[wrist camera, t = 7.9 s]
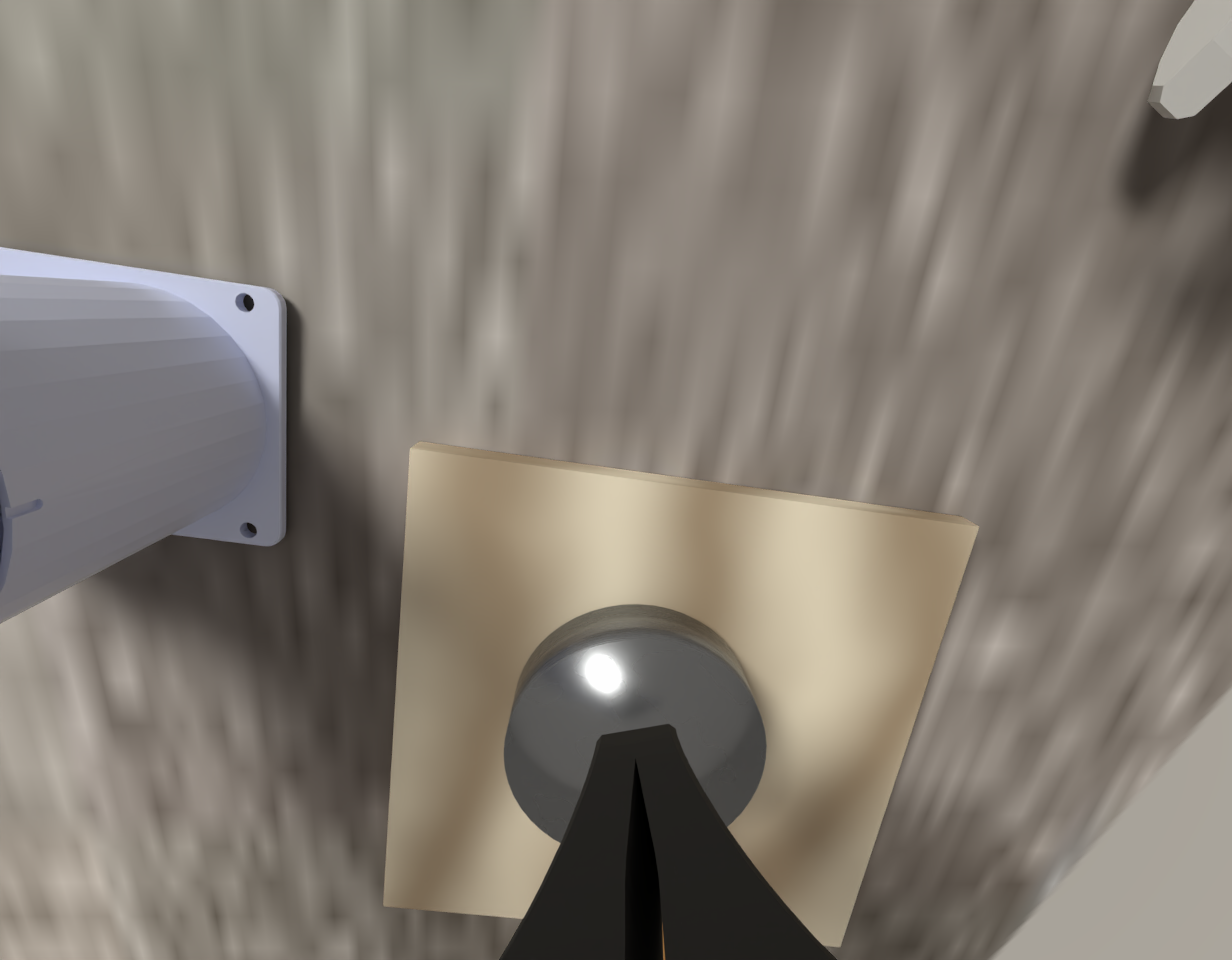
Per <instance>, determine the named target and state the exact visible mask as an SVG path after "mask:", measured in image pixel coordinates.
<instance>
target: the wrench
mask: <svg viewBox="0 0 1232 960" xmlns="http://www.w3.org/2000/svg"><path fill="white" fill-rule="evenodd" d="M1231 82H1232V0H1195V1H1194V2H1193V4H1192V5H1191V6H1190V8H1189V9H1188V11H1187V12H1186V13H1185V15H1184V16H1183V18H1182V19H1181V20H1180V22H1179V23H1178V25H1177V27H1176V29H1175V31H1174V33H1173V35H1172V38H1171V40H1170V42H1169V44H1168V46H1167V48H1166V50H1165V52H1164V54H1163V56H1162V58H1161V60H1160V63H1159V66H1158V69H1157V72H1156V76H1155V79H1154V82H1153V85H1152V88H1151V91H1150V95H1149V98H1148V101H1147V102H1148V103H1149V104H1150V105H1151V106H1152V107H1153V108H1154V109H1155V110H1156V111H1157V112H1158V113H1159V114H1160V115H1161V116H1162V117H1164V118H1170V119H1181V118H1186V117H1191V116H1195V115H1196V114H1197V113H1198V112H1199V111H1200V110H1201V109H1203V108H1204V107H1205V106H1206V105H1207V104H1208V103H1209V102H1210V101H1211V100H1212V99H1214V98H1215V97H1216V96H1217V95H1218V94H1219V93H1220V92H1221V91H1222V90H1223V89H1224V88H1226V87H1227V86H1228V85H1229V84H1230V83H1231Z"/></svg>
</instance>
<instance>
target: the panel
mask: <svg viewBox="0 0 1232 960" xmlns="http://www.w3.org/2000/svg"><path fill="white" fill-rule="evenodd" d="M978 529H979V526H977V525H975V524H974V523H972V522H970V521H968V520H967V519H965V518H963V517H961V516H955V515H948V514H940V513H933V512H926V511H919V510H912V509H904V508H897V507H890V506H883V505H876V504H868V503H861V502H854V501H847V500H839V499H832V498H825V497H818V496H811V495H803V494H796V493H789V492H782V491H774V490H767V489H760V488H753V487H746V486H738V485H731V484H724V483H717V482H709V481H702V480H695V479H688V478H681V477H673V476H666V475H659V474H652V473H644V472H637V471H630V470H623V469H616V468H608V467H601V466H594V465H587V464H579V463H572V462H565V461H558V460H551V459H543V458H536V457H529V456H522V455H514V454H507V453H500V452H493V451H486V450H478V449H471V448H464V447H457V446H449V445H442V444H435V443H428V442H421V441H419V442H418V443H417V444H415V445H414V446H413V447H411V448H410V458H409V475H408V492H407V509H406V526H405V543H404V560H403V576H402V593H401V610H400V627H399V644H398V661H397V678H396V695H395V712H394V729H393V746H392V763H391V780H390V797H389V814H388V831H387V848H386V865H385V882H384V899H383V906H385V907H396V908H407V909H418V910H430V911H441V912H452V913H463V914H474V915H486V916H497V917H508V918H519V919H523V918H524V916H525V914H526V912H527V911H528V909H529V907H530V905H531V903H532V901H533V899H534V897H535V895H536V894H537V892H538V890H539V888H540V886H541V884H542V882H543V880H544V877H545V875H546V873H547V871H548V869H549V867H550V865H551V863H552V860H553V858H554V856H555V854H556V852H557V850H558V848H559V845H560V843H559V842H557V841H556V840H554V839H552V838H551V837H550V836H548V835H547V834H546V833H544V832H543V831H541V830H540V829H539V828H538V827H537V826H536V825H535V824H534V823H533V822H532V821H531V820H530V819H529V818H528V817H527V815H526V814H525V813H524V812H523V810H522V809H521V808H520V806H519V804H518V803H517V801H516V799H515V798H514V796H513V793H512V791H511V789H510V786H509V784H508V780H507V776H506V772H505V766H504V741H505V736H506V731H507V727H508V722H509V718H510V713H511V709H512V705H513V700H514V696H515V691H516V687H517V683H518V680H519V677H520V675H521V672H522V670H523V667H524V666H525V664H526V662H527V661H528V659H529V657H530V656H531V654H532V653H533V652H534V650H535V649H536V648H537V647H538V645H539V644H540V643H541V642H542V641H543V640H544V639H545V638H546V637H547V636H549V635H550V634H551V633H552V632H553V631H555V630H556V629H558V628H559V627H560V626H562V625H563V624H565V623H567V622H569V621H570V620H572V619H574V618H576V617H578V616H580V615H583V614H585V613H588V612H590V611H594V610H597V609H601V608H605V607H610V606H617V605H627V604H642V605H654V606H659V607H664V608H668V609H672V610H675V611H678V612H681V613H684V614H686V615H688V616H690V617H692V618H694V619H696V620H698V621H700V622H701V623H703V624H704V625H706V626H707V627H709V628H710V629H712V630H713V631H714V632H715V633H716V634H717V635H719V636H720V637H721V638H722V639H723V640H724V641H725V643H726V644H727V645H728V646H729V647H730V648H731V650H732V651H733V653H734V654H735V656H736V658H737V659H738V661H739V663H740V665H741V667H742V669H743V672H744V674H745V677H746V679H747V682H748V684H749V687H750V689H751V692H752V694H753V697H754V699H755V702H756V704H757V707H758V709H759V712H760V715H761V717H762V721H763V725H764V729H765V735H766V745H767V747H766V761H765V766H764V770H763V775H762V777H761V780H760V783H759V785H758V788H757V790H756V792H755V793H754V795H753V797H752V799H751V801H750V802H749V803H748V805H747V806H746V807H745V809H744V810H743V812H742V813H741V814H740V815H739V816H738V817H737V818H736V819H735V820H734V821H733V822H732V823H731V824H730V825H729V826H728V827H727V828H728V829H729V831H730V832H731V834H732V835H733V836H734V838H735V839H736V841H737V842H738V843H739V845H740V846H741V848H742V849H743V850H744V852H745V853H746V855H747V856H748V857H749V859H750V860H751V861H752V863H753V864H754V865H755V867H756V868H757V869H758V871H759V872H760V873H761V874H762V876H763V877H764V878H765V880H766V881H767V882H768V883H769V884H770V886H771V887H772V888H773V889H774V891H775V892H776V893H777V894H778V895H779V897H780V898H781V899H782V900H783V901H784V903H785V904H786V905H787V906H788V907H789V908H790V910H791V911H792V912H793V913H794V914H795V915H796V916H797V918H798V919H799V920H800V921H801V922H802V923H803V924H804V925H805V927H806V928H807V929H808V930H809V931H810V932H811V933H812V934H813V936H814V937H815V938H816V939H817V940H818V941H819V942H820V943H821V944H822V945H823V946H832V947H840V946H841V943H842V940H843V937H844V934H845V931H846V928H847V925H848V922H849V919H850V916H851V913H852V910H853V907H854V904H855V901H856V898H857V895H858V892H859V889H860V886H861V883H862V880H863V877H864V874H865V871H866V868H867V865H868V862H869V859H870V856H871V853H872V850H873V847H874V844H875V841H876V838H877V835H878V831H879V828H880V825H881V822H882V819H883V816H884V813H885V810H886V807H887V804H888V801H889V798H890V795H891V792H892V789H893V786H894V783H895V780H896V777H897V774H898V771H899V768H900V765H901V762H902V759H903V756H904V753H905V750H906V747H907V744H908V741H909V738H910V735H911V732H912V729H913V726H914V723H915V720H916V717H917V713H918V710H919V707H920V704H921V701H922V698H923V695H924V692H925V689H926V686H927V683H928V680H929V677H930V674H931V671H932V668H933V665H934V662H935V659H936V656H937V653H938V650H939V647H940V644H941V641H942V638H943V635H944V632H945V629H946V626H947V623H948V620H949V617H950V614H951V611H952V608H953V605H954V602H955V599H956V595H957V592H958V589H959V586H960V583H961V580H962V577H963V574H964V571H965V568H966V565H967V562H968V559H969V556H970V553H971V550H972V547H973V544H974V541H975V538H976V535H977V532H978Z"/></svg>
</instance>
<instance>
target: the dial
mask: <svg viewBox="0 0 1232 960" xmlns="http://www.w3.org/2000/svg"><path fill="white" fill-rule="evenodd" d="M664 724H670V725H671V726H673V727H674V728H676V732H677V736H678V739H679V741H680V744H681V747H682V749H683V751H684V754H685V756H686V758H687V760H688V762H689V764H690V766H691V768H692V770H693V772H694V774H695V776H696V778H697V779H698V781H699V783H700V785H701V786H702V788H703V790H704V792H705V793H706V795H707V796H708V798H709V800H710V801H711V803H712V804H713V806H714V808H715V809H716V811H717V813H718V814H719V816H720V817H721V819H722V820H723V822H724V823H725V825H726V826H727V827H728V826H729V825H730V824H731V823H732V822H733V821H734V820H735V819H736V818H737V817H738V816H739V815H740V814H741V813H742V812H743V810H744V809H745V807H746V806H747V805H748V803H749V802H750V801H751V799H752V797H753V795H754V793H755V792H756V790H757V788H758V785H759V783H760V780H761V777H762V775H763V770H764V766H765V761H766V747H767V745H766V735H765V729H764V725H763V721H762V717H761V715H760V712H759V709H758V707H757V704H756V702H755V699H754V697H753V694H752V692H751V689H750V687H749V684H748V682H747V679H746V677H745V674H744V672H743V669H742V667H741V665H740V663H739V661H738V659H737V658H736V656H735V654H734V653H733V651H732V650H731V648H730V647H729V646H728V645H727V644H726V643H725V641H724V640H723V639H722V638H721V637H720V636H719V635H717V634H716V633H715V632H714V631H713V630H712V629H710V628H709V627H707V626H706V625H704V624H703V623H701V622H700V621H698V620H696V619H694V618H692V617H690V616H688V615H686V614H684V613H681V612H678V611H675V610H672V609H668V608H664V607H659V606H654V605H642V604H627V605H617V606H610V607H605V608H601V609H597V610H594V611H590V612H588V613H585V614H583V615H580V616H578V617H576V618H574V619H572V620H570V621H569V622H567V623H565V624H563V625H562V626H560V627H559V628H558V629H556V630H555V631H553V632H552V633H551V634H550V635H549V636H547V637H546V638H545V639H544V640H543V641H542V642H541V643H540V644H539V645H538V647H537V648H536V649H535V650H534V652H533V653H532V654H531V656H530V657H529V659H528V661H527V662H526V664H525V666H524V667H523V670H522V672H521V675H520V677H519V680H518V683H517V687H516V691H515V696H514V700H513V705H512V709H511V713H510V718H509V722H508V727H507V731H506V736H505V741H504V766H505V772H506V776H507V780H508V784H509V786H510V789H511V791H512V793H513V796H514V798H515V799H516V801H517V803H518V804H519V806H520V808H521V809H522V810H523V812H524V813H525V814H526V815H527V817H528V818H529V819H530V820H531V821H532V822H533V823H534V824H535V825H536V826H537V827H538V828H539V829H540V830H541V831H543V832H544V833H546V834H547V835H548V836H550V837H551V838H552V839H554V840H556V841H557V842H559V843H561V841H562V839H563V837H564V834H565V832H566V829H567V827H568V824H569V822H570V819H571V817H572V814H573V812H574V809H575V807H576V804H577V802H578V799H579V797H580V794H581V791H582V788H583V786H584V783H585V780H586V777H587V774H588V771H589V768H590V765H591V761H592V758H593V754H594V751H595V746H596V742H597V740H598V739H599V738H600V737H601V735H604V734H610V733H616V732H622V731H628V730H634V729H640V728H646V727H652V726H658V725H664ZM662 930H663V924H662ZM663 960H665V952H664V938H663Z"/></svg>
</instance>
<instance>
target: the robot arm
mask: <svg viewBox="0 0 1232 960" xmlns="http://www.w3.org/2000/svg"><path fill="white" fill-rule="evenodd" d="M247 294H248V295H250V296H251V297H252V298H253V301H254V308H253V309H252V310H251V311H248V310H247V309H246V308H245V307H244V303H243V300H244V297H245V296H246V295H247ZM286 368H287V307H286V302H285V300H284V298H283V297H282V295H281V294H280V293H279V292H277V291H276V290H274V289H271V288H267V287H260V286H254V285H247V284H241V283H234V282H228V281H221V280H214V279H208V278H201V277H195V276H188V275H182V274H175V273H168V272H162V271H155V270H149V269H142V268H136V267H129V266H122V265H116V264H109V263H103V262H96V261H90V260H83V259H76V258H70V257H63V256H57V255H50V254H44V253H37V252H30V251H24V250H17V249H11V248H4V247H0V624H1V623H2V622H4V621H6V620H8V619H10V618H12V617H14V616H16V615H18V614H20V613H22V612H23V611H25V610H27V609H29V608H31V607H33V606H35V605H37V604H39V603H41V602H43V601H44V600H46V599H48V598H50V597H52V596H54V595H56V594H58V593H60V592H62V591H64V590H66V589H67V588H69V587H71V586H73V585H75V584H77V583H79V582H81V581H83V580H85V579H87V578H88V577H90V576H92V575H94V574H96V573H98V572H100V571H102V570H104V569H106V568H108V567H110V566H111V565H113V564H115V563H117V562H119V561H121V560H123V559H125V558H127V557H129V556H131V555H132V554H134V553H136V552H138V551H140V550H142V549H144V548H146V547H148V546H150V545H152V544H154V543H155V542H157V541H159V540H161V539H163V538H165V537H167V536H169V535H179V536H187V537H195V538H203V539H211V540H219V541H227V542H235V543H243V544H251V545H259V546H273V545H275V544H277V543H278V542H280V541H281V540H282V539H283V538H284V536H285V533H286ZM247 522H248V523H251V524H253V525H254V526H255V527H256V530H257V533H256V534H255V533H252V532H250V531H249V530H248V528H247ZM662 924H663V930H662ZM663 938H664V952H665V960H837V959H836V958H835V957H834V956H833V955H832V954H831V953H830V952H829V951H828V950H827V949H826V948H825V947H824V946H823V945H822V944H821V943H820V942H819V941H818V940H817V939H816V938H815V937H814V936H813V934H812V933H811V932H810V931H809V930H808V929H807V928H806V927H805V925H804V924H803V923H802V922H801V921H800V920H799V919H798V918H797V916H796V915H795V914H794V913H793V912H792V911H791V910H790V908H789V907H788V906H787V905H786V904H785V903H784V901H783V900H782V899H781V898H780V897H779V895H778V894H777V893H776V892H775V891H774V889H773V888H772V887H771V886H770V884H769V883H768V882H767V881H766V880H765V878H764V877H763V876H762V874H761V873H760V872H759V871H758V869H757V868H756V867H755V865H754V864H753V863H752V861H751V860H750V859H749V857H748V856H747V855H746V853H745V852H744V850H743V849H742V848H741V846H740V845H739V843H738V842H737V841H736V839H735V838H734V836H733V835H732V834H731V832H730V831H729V829H728V828H727V826H726V825H725V823H724V822H723V820H722V819H721V817H720V816H719V814H718V813H717V811H716V809H715V808H714V806H713V804H712V803H711V801H710V800H709V798H708V796H707V795H706V793H705V792H704V790H703V788H702V786H701V785H700V783H699V781H698V779H697V778H696V776H695V774H694V772H693V770H692V768H691V766H690V764H689V762H688V760H687V758H686V756H685V754H684V751H683V749H682V747H681V744H680V741H679V739H678V736H677V732H676V728H674V727H673V726H671V725H670V724H664V725H658V726H652V727H646V728H640V729H634V730H628V731H622V732H616V733H610V734H604V735H601V737H600V738H599V739H598V740H597V742H596V746H595V751H594V754H593V758H592V761H591V765H590V768H589V771H588V774H587V777H586V780H585V783H584V786H583V788H582V791H581V794H580V797H579V799H578V802H577V804H576V807H575V809H574V812H573V814H572V817H571V819H570V822H569V824H568V827H567V829H566V832H565V834H564V837H563V839H562V841H561V843H560V845H559V848H558V850H557V852H556V854H555V856H554V858H553V860H552V863H551V865H550V867H549V869H548V871H547V873H546V875H545V877H544V880H543V882H542V884H541V886H540V888H539V890H538V892H537V894H536V895H535V897H534V899H533V901H532V903H531V905H530V907H529V909H528V911H527V912H526V914H525V916H524V918H523V920H522V922H521V923H520V925H519V927H518V929H517V930H516V932H515V934H514V936H513V937H512V939H511V941H510V943H509V944H508V946H507V948H506V949H505V951H504V953H503V954H502V956H501V957H500V959H499V960H663Z"/></svg>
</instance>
